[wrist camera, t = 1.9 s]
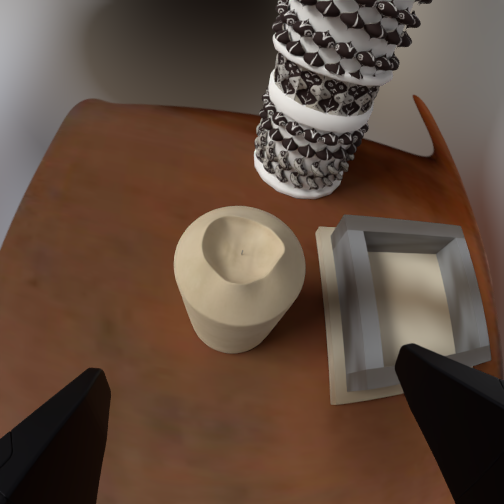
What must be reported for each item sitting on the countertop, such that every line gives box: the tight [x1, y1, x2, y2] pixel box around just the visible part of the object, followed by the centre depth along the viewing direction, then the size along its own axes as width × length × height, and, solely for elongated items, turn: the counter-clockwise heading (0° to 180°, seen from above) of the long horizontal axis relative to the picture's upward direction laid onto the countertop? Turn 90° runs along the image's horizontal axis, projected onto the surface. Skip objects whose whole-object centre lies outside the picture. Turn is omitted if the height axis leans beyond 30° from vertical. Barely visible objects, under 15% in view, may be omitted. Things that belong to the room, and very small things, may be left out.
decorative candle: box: [254, 0, 432, 199], centre depth 16 cm, size 9×9×25 cm
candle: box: [174, 206, 305, 353], centre depth 16 cm, size 6×6×10 cm
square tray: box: [316, 215, 491, 405], centre depth 20 cm, size 13×13×4 cm
